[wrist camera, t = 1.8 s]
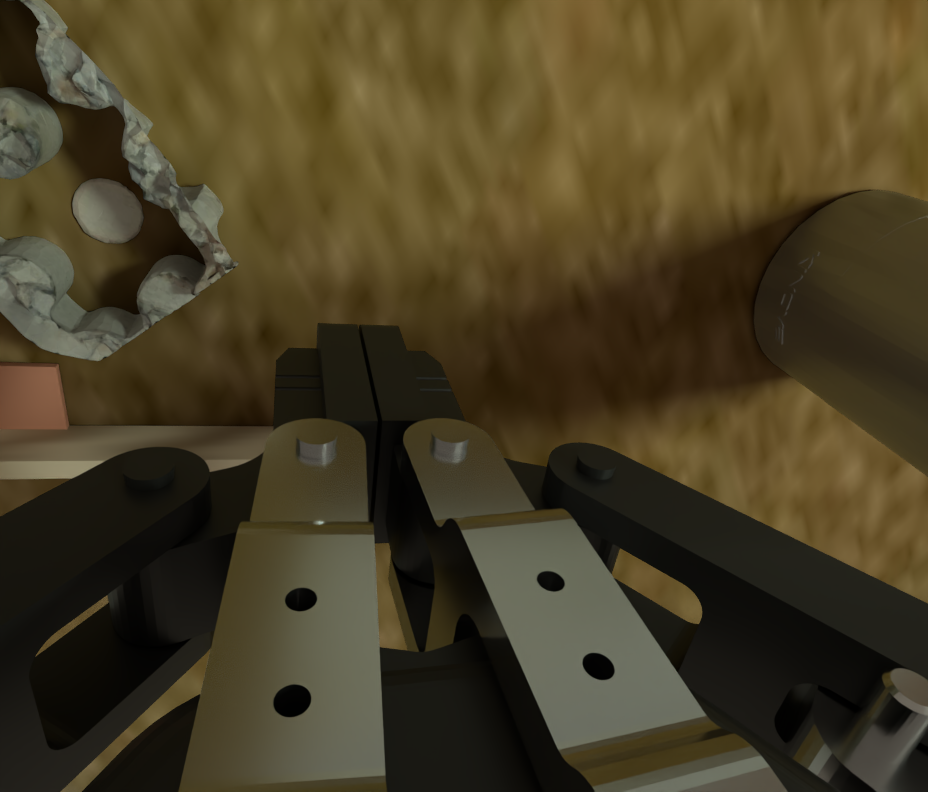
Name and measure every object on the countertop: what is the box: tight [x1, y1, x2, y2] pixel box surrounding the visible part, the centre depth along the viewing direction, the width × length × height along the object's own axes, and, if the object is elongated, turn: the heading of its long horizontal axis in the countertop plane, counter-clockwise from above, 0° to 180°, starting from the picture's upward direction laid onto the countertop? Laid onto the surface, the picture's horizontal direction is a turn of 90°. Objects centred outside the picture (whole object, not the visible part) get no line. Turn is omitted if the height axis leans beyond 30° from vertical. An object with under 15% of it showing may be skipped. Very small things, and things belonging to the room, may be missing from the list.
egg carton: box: [0, 0, 238, 361], centre depth 20 cm, size 11×8×4 cm
